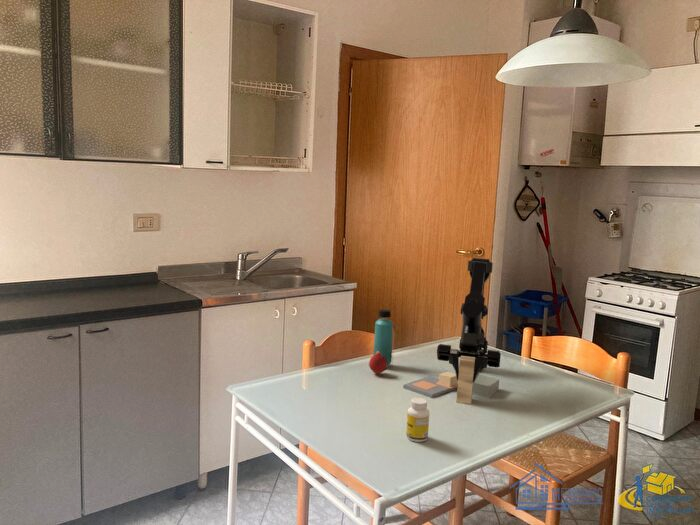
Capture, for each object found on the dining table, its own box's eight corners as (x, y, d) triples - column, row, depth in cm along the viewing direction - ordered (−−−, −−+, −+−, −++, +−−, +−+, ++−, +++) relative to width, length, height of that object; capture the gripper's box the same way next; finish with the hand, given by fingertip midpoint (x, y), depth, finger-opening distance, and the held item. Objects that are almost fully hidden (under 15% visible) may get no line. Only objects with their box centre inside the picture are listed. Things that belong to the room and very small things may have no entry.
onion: (386, 372, 196) (387, 349, 195) (385, 378, 191) (387, 354, 190) (369, 371, 197) (370, 348, 196) (367, 376, 191) (369, 353, 190)
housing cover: (477, 384, 189) (478, 374, 188) (498, 389, 185) (499, 379, 185) (466, 392, 181) (467, 381, 181) (488, 397, 178) (489, 386, 177)
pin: (457, 397, 177) (460, 355, 175) (471, 399, 175) (475, 357, 174) (456, 402, 172) (459, 359, 171) (470, 404, 171) (474, 361, 170)
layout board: (431, 378, 193) (432, 366, 193) (461, 387, 185) (462, 375, 185) (403, 387, 182) (404, 375, 182) (433, 398, 175) (434, 385, 174)
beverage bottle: (391, 369, 200) (395, 312, 197) (372, 368, 200) (375, 311, 197) (390, 364, 206) (394, 308, 204) (372, 363, 206) (375, 307, 204)
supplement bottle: (404, 433, 149) (406, 396, 147) (425, 433, 149) (427, 396, 148) (408, 442, 143) (410, 404, 142) (429, 442, 144) (432, 404, 143)
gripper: (439, 318, 177) (432, 363, 168) (503, 324, 172) (499, 372, 163) (440, 337, 186) (434, 381, 177) (501, 344, 181) (497, 389, 172)
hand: (465, 380), depth 172 cm, fingers closed on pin, 4 cm apart
